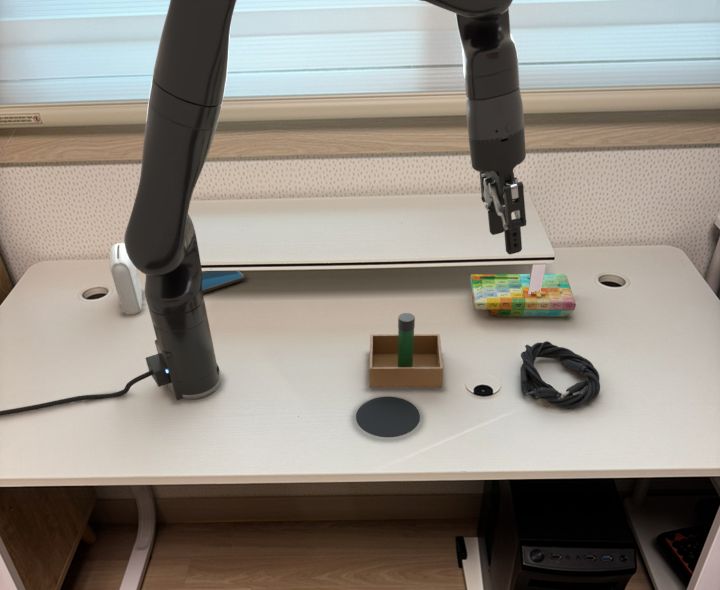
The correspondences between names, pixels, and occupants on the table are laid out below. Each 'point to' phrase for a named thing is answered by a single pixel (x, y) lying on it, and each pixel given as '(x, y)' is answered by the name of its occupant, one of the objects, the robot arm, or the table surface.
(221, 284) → the smartphone
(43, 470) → the table surface
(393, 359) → the box
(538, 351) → the cable
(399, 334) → the glue stick
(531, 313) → the puzzle game
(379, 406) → the coaster
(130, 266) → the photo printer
